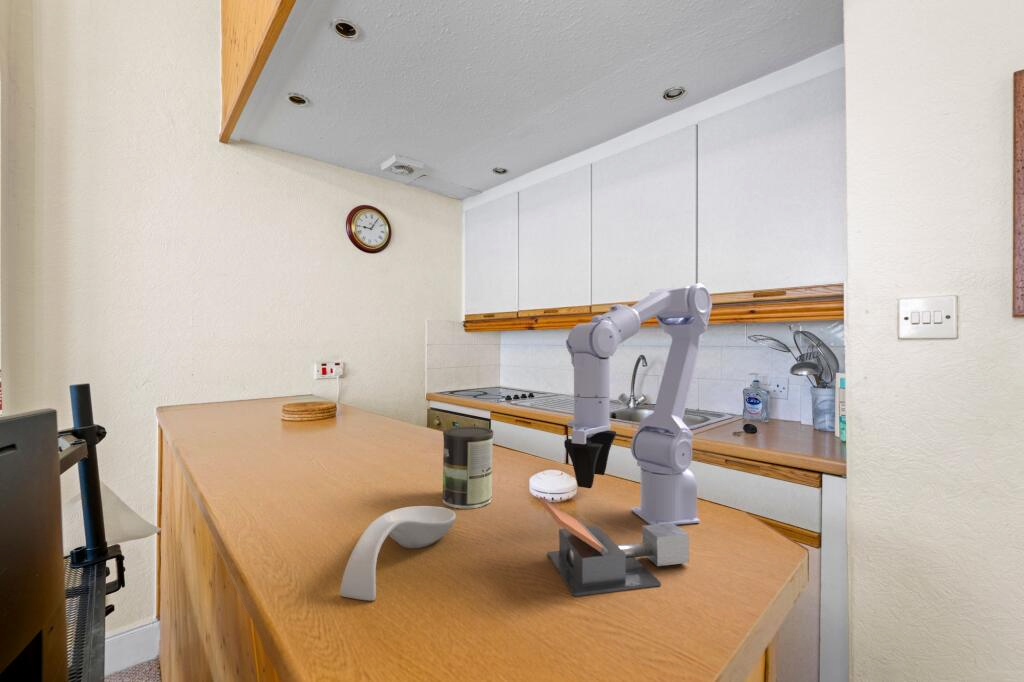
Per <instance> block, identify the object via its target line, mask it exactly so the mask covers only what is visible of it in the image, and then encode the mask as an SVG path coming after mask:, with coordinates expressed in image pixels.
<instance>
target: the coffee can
mask: <svg viewBox="0 0 1024 682" xmlns="http://www.w3.org/2000/svg"><path fill="white" fill-rule="evenodd" d="M442 437H443V453H442V454H443V457H442V459H443V460H442V462H443V463H442V471H443V472H442V499H441V501H443V502H442V504H443V503H444V505H445V504H446V505H447V506H446V505H445V506H446V507H448V506H450V507H449V508H452V507H453V508H452V509H456V508H459V509H460V510H472V509H471V508H475V509H479V508H478V507H480V508H483V507H482V506H484V505H486V504H488V503H490V502H492V501H493V496H492V495H493V490H492V489H493V442H494V441H493V440H494V439H493V438H494V430H493V429H491V428H487V427H481V426H460V427H452V428H448V429H444V430H443V433H442ZM491 500H492V501H491ZM490 504H491V503H490ZM488 505H489V504H488ZM486 506H487V505H486ZM484 507H485V506H484ZM459 509H458V510H459Z"/></svg>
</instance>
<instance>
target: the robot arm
mask: <svg viewBox="0 0 1024 682" xmlns="http://www.w3.org/2000/svg"><path fill="white" fill-rule="evenodd" d="M712 302H713V301H712V299H711V295H710V292H709V290H708V289H707V287H706V286H705V285H703V284H702V283H694V284H693V285H686V286H679V287H673V288H672V287H671V288H666V289H665V288H659V289H656V290H654V291H651V292H650V293H649V295H646V296H645V297H644V298H642V299H640V300H639V301H638V302H636V303H635V304H633V305H631V306H629V305H626V304H625V305H624V304H623V305H622V304H620V303H617V304H613V305H611V306H610V307H609V311H607V312H605V313H604V314H596V315H595V316H594V315H593V316H592V317H591V319H592V320H590V322H586V323H585V322H584V323H578V324H576V325H574V326H573V327H572V329H571V330H570V332H569V333H568V336H567V337H568V338H567V339H565V345H566V346H565V347H566V348H567V351H568V352H569V355H570V357H571V358H570V360H571V364H572V367H573V420H569V421H567V422H566V426H567V427H572V429H571V438H567V439H565V440H564V442H563V443H564V444H563V446H564V448H565V450H566V452H567V454H568V456H569V457H570V460H571V463H572V468H573V471H574V475H575V481H576V484H577V487H579V488H584V489H585V488H586V489H591V488H593V486H594V480H595V475H598V476H599V475H600V476H604V475H605V472H606V470H607V464H608V460H609V454H610V451H611V448H612V445H613V442H614V440H615V439H616V436H617V431H614V430H611V429H612V424H611V422H610V419H611V418H610V407H611V405H610V357H613V356H614V355H615V353H616V351H617V349H618V346H619V345H620V344H622V343H623V342H626V341H627V340H629V339H631V338H632V337H633V336H635V335H637V334H638V333H639V331H640V329H641V324H642V323H645V322H646V321H648V320H651V319H653V318H655V320H656V321H657V322H658V324H659V325H660V327H661V329H662V330H663V332H664V333H665V334H667V335H669V336H670V337H671V344H670V347H669V351H668V355H667V359H666V362H665V367H664V371H663V373H662V378H661V382H660V386H659V389H658V393H657V398H656V400H655V405H654V409H653V412H652V413H651V414H649V415H648V416H646V417H644V418H643V419H641V420H640V422H639V424H638V428H637V430H636V431H635V433H634V434H633V436H632V438H631V442H630V452H631V455H632V457H633V458H634V460H636V461H637V462H636V465H637V466H638V467H640V507H637V506H636V507H631V510H630V511H632V512H633V513H634V514H635V515H637V516H638V517H640V518H641V519H642V520H643V521H644V522H647V524H648V525H655V524H666V523H673V524H675V525H676V526H678V525H686V524H696V523H700V522H701V520H700V518H698V485H697V484H698V483H697V481H696V477H695V476H694V473H693V472H692V471H691V470H690V469H689V466H690V465H691V463H692V459H693V453H694V452H693V441H694V440H693V439H694V433H693V432H692V431H691V429H690V428H689V427H688V426H687V425H686V423H684V421H683V419H684V415H685V411H686V406H687V403H688V399H689V394H690V390H691V386H692V382H693V379H694V374H695V369H696V366H697V361H698V357H699V352H700V349H701V346H702V345H701V344H702V341H703V333H705V332H706V331H707V329H708V325H709V321H710V316H711V313H712V312H711V311H712V309H713V308H712V307H713V303H712Z"/></svg>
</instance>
